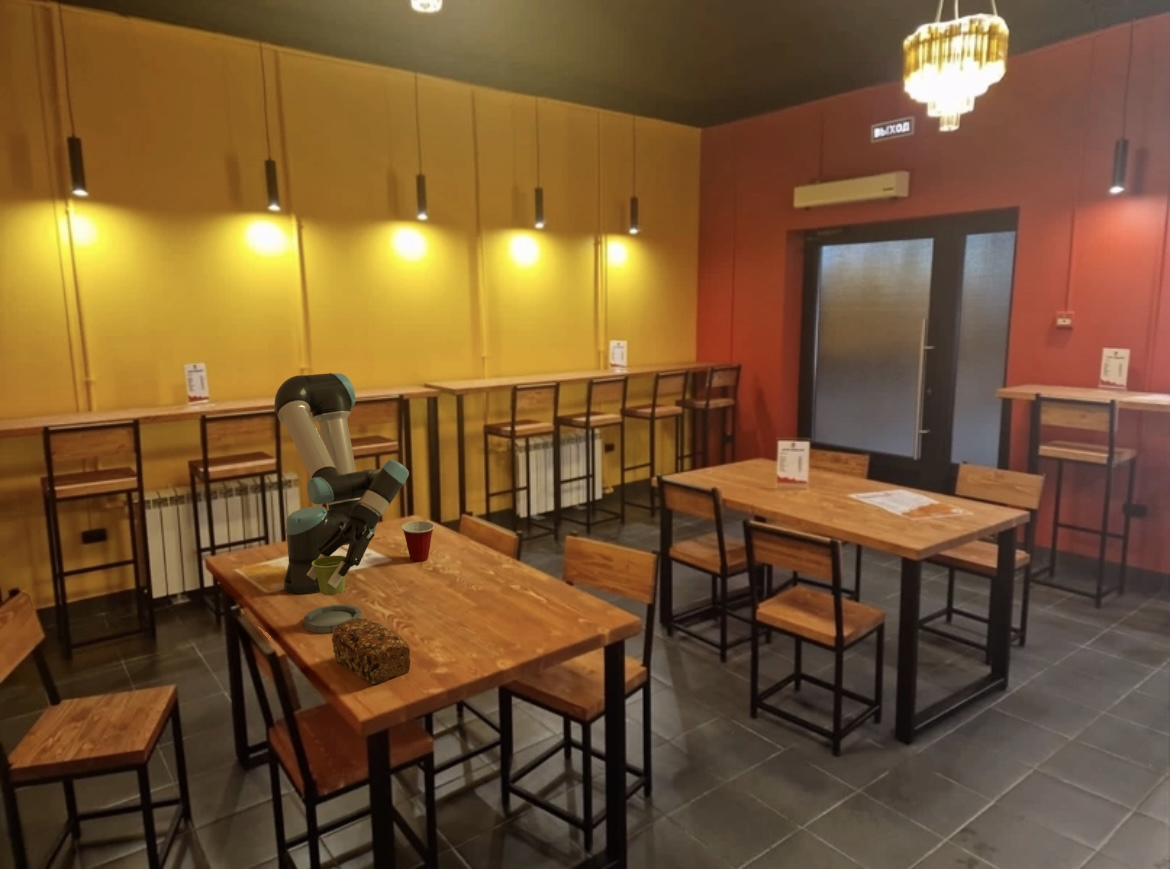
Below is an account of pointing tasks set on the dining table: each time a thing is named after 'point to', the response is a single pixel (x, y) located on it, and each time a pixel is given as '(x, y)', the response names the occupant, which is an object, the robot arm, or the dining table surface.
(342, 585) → the plant pot
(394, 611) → the dining table surface
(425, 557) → the plastic cup
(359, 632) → the bread
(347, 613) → the saucer
